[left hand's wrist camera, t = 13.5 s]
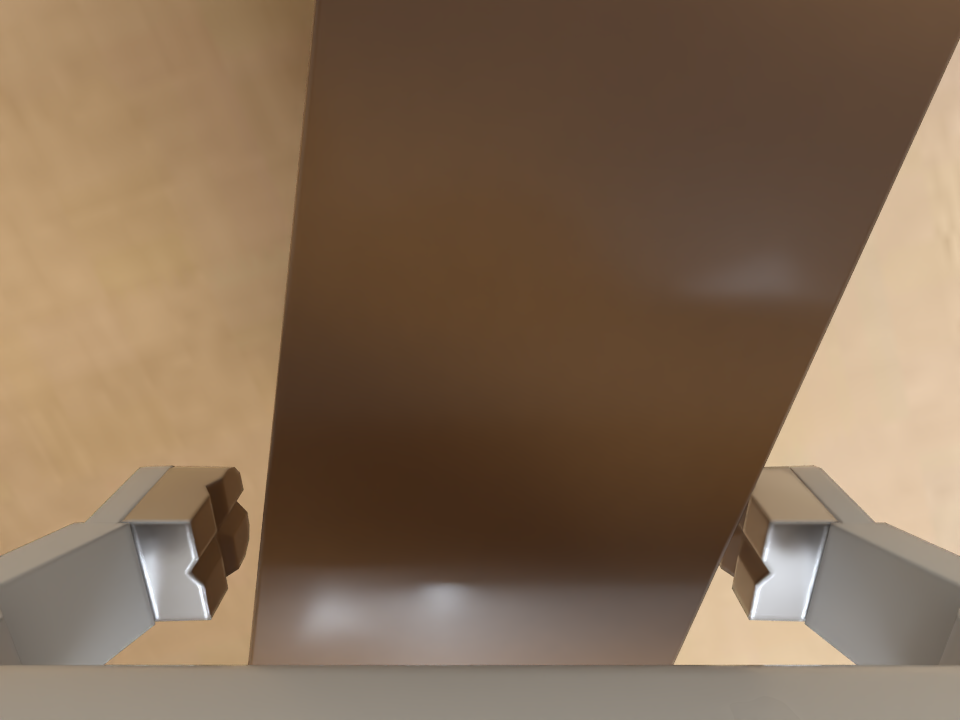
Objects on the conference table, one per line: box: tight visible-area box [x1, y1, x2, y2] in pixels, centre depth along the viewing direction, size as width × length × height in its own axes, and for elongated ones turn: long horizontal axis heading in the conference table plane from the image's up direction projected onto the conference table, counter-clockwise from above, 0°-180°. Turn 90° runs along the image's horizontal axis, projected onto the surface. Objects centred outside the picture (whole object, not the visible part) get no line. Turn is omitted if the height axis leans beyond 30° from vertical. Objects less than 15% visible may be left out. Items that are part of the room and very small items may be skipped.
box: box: [248, 0, 960, 665], centre depth 11 cm, size 22×6×11 cm, turn 168°
